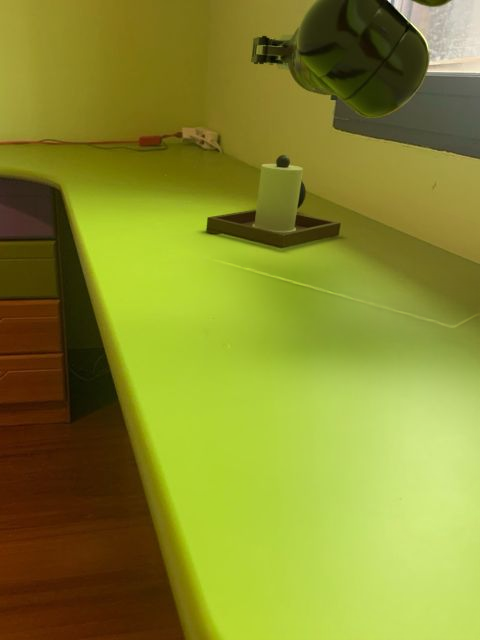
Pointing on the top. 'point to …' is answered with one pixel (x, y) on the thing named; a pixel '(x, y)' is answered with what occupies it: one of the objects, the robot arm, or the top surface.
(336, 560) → the top surface
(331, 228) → the tray
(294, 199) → the white cylinder with knob
